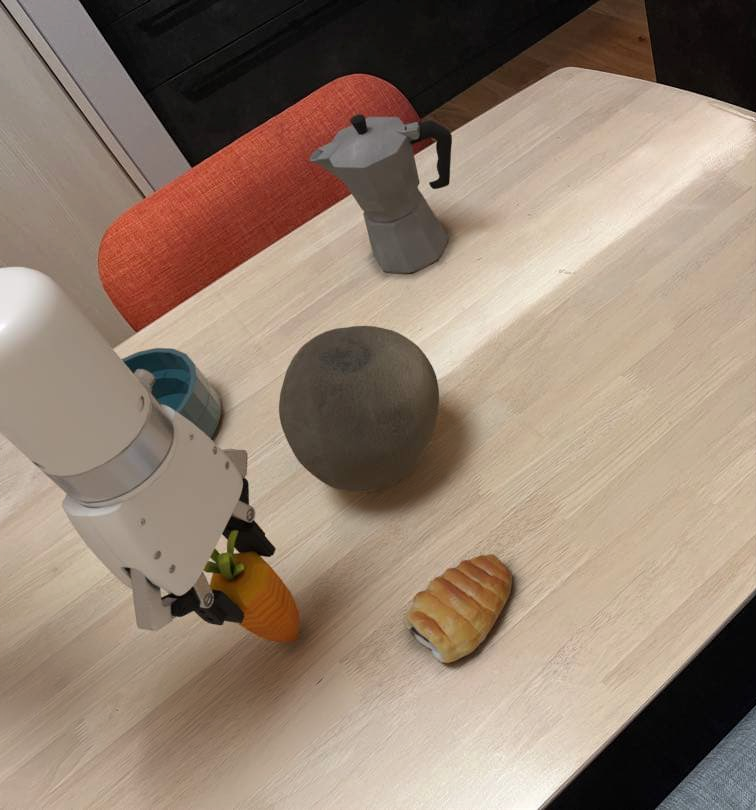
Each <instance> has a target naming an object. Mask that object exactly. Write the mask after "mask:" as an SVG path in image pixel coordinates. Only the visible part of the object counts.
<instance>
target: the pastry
mask: <svg viewBox="0 0 756 810" xmlns="http://www.w3.org/2000/svg"><path fill="white" fill-rule="evenodd" d="M512 584H513V578H512V572H511V571H510V569H509V568H508V566H507V565H506V564H505V563H503V561H502V560H501V559H500V558H499V557H498V556H497V555H495V554H494V553H493V554H492V553H491V554H480V555H478V556H476V557H473V558H470V559H464V560H462V561H460V562H459V563H458V564H457V566H455V567H450V568H447V569H445V571H444V572H443V574H442V575H440V576H436V577H434V578H433V579H432V580H430V582H429V583H428V586H427V589H426V590H422V591H421V590H420V591H418V592H417V593H416V594H415V595H414V597H413V598H412V602H411V606H410V608H409V610H407V611H406V613H405V615H404V617H403V619H402V623H403V625H404V627H405V628H406V629H407V630H408V631H410V632H411V633H412V634H414V637H415V639H416V640H417V641H418V642H419V643H420V644H422V645H423V646H425V647H426V648H428V649H430V650H431V653H432V655H433V657H434V658H435V659H437V660H438V661H439V662H440V663H444V664H449V663H453V662H455V661H458V660H459V659H461V658H463V657H466V656H468V655H470V654H471V653H473V652H474V651H475V650H476V649H477V648H478V647H479V646H480V644H482V643H484V641H485V640H486V638H487V636H488V634H489V633H490V631H491V630H492V628H493V626H494V625H495V624H496V622H497V620H498V619H499V616H500V614H501V613H502V611H503V609H504V607H505V605H506V603H507V601H508V599H509V597H510V595H511V590H512Z"/></svg>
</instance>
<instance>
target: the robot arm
mask: <svg viewBox="0 0 756 810" xmlns="http://www.w3.org/2000/svg"><path fill="white" fill-rule="evenodd" d="M122 359H123V358H121V356H119V355H118V353H117V352H116V351H115V350H114V349H113V347H112V346H111V345H110V344H109V343H108V342H107V340H106V339H105V337H103V335H102V334H101V333H100V332H99V331H98V329H96V327H95V326H94V325H93V324H92V322H91V321H90V320H89V319H88V318H87V316H86V315H85V314H84V312H83V311H81V309H80V308H79V307H78V305H76V304H75V302H74V301H73V300H72V298H71V297H70V296H69V295H68V294H67V293H66V291H65V290H64V289H63V288H62V287H61V286H60V285H59V284H58V283H57V282H56V281H55V280H54V279H53V278H51V277H50V276H48V275H47V274H45V273H43V272H41V271H39V270H38V269H34V268H29V267H25V266H8V267H7V266H6V267H0V434H1V435H2V436H3V437H4V438H5V439H7V441H9V442H10V443H11V444H12V445H13V446H14V447H15V448H16V449H17V450H18V451H19V452H21V454H23V455H24V456H25V457H26V458H27V459H28V460H29V461H30V462H32V463H33V464H34V465H35V466H36V467H37V468H38V469H39V470H40V471H41V472H42V473H43V474H44V475H45V476H47V477H48V478H49V479H50V480H51V481H52V482H53V483H54V484H56V486H58V487H59V488H60V489H61V490H62V491H63V492H64V493H65V496H64V498H63V500H62V503H61V504H62V505H61V506H62V508H63V511H64V513H65V514H66V516H67V518H68V520H69V521H70V523H71V525H72V527H73V529H74V530H75V531H76V533H77V534H78V535H79V537H80V538H81V540H82V541H83V542H84V544H85V545H86V546H87V547H88V548H89V549H90V551H91V552H92V553H93V554H94V555H95V556H96V558H97V559H98V560H99V561H100V562H101V563H102V564H103V565H104V566H105V567H106V569H108V570H109V571H110V573H111V574H112V575H113V576H114V577H115V578H117V579H118V580H119V581H120V582H121V583H122V584H123V585H124V586H126V587H127V588H128V589H131V590H132V591H131V592H132V598H133V606H134V614H135V615H134V616H135V622H136V627H137V628H138V629H139V630H146V631H152V632H157V631H159V630H160V629H162V628H164V627H165V626H166V625H167V626H168V624H170V623H171V622H173V620H174V619H176V618H183V617H185V616H187V615H188V614H191V613H193V612H194V613H195V614H196V615H197V616H199V618H200V619H202V620H203V621H204V622H206V623H207V624H210V625H214V626H223V625H224V623H225V622H228V623H236V624H239V623H242V621H243V619H244V617H245V616H244V612H243V611H242V610H241V609H240V608H239V607H238V606H237V605H236V604H235V603H234V602H233V601H232V600H231V599H230V598H229V597H228V596H227V595H226V594H225V593H224V592H222V591H220V590H213V589H211V587H210V582H209V581H208V579H207V577H206V575H205V573H204V568H205V566H206V564H207V562H208V561H210V559H211V558H210V556H211V554H212V553H213V551H214V549H216V546H217V545H218V543H219V541H220V539H221V537H222V536H223V537H224V538H225V539H226V540H227V541H228V538H229V535H230V533H231V531H233V530H238V534H237V537H236V540H235V545H234V550H236V551H237V553H243V552H251V551H254V552H256V553H257V554H259V555H260V556H261V557H265V558H271V557H272V556H274V555H275V553H276V550H277V548H276V547H275V545H273V543H272V542H271V541H270V539H268V538H267V536H266V532H265V531H264V530H263V528H262V527H260V525H259V524H258V523H257V522H256V520H255V518H256V509H255V508H254V506H252V505H250V494H249V493H250V488H249V487H250V485H249V480H248V479H247V478H246V476H247V475H248V451H247V450H245V449H237V448H225V449H221V447H220V446H218V445H217V443H215V442H214V440H212V438H211V439H210V438H209V437H208V436H207V435H206V434H205V433H204V432H203V431H202V430H200V429H199V428H198V427H197V426H196V425H194V424H193V423H192V422H190V421H189V420H188V419H186V418H185V417H183V416H182V415H181V414H179V413H178V412H176V411H175V410H173V409H172V408H170V407H168V406H166V405H163V404H160V403H159V402H158V401H157V400H156V398H155V397H154V396H153V395H152V394H151V391H152V385H153V383H154V382H155V377H154V375H153V374H151V373H150V372H149V371H146V370H144V369H137V370H136V371H135V373H134V374H133V373H132V372H131V370H130V369H129V368H128V367H127V365H126V364H125V363H124V362H123V361H122ZM161 589H162V590H163V591H165V592H167V594H166V595H163V596H162V590H161Z"/></svg>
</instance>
